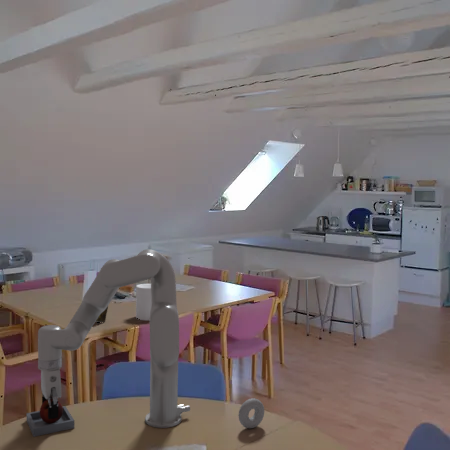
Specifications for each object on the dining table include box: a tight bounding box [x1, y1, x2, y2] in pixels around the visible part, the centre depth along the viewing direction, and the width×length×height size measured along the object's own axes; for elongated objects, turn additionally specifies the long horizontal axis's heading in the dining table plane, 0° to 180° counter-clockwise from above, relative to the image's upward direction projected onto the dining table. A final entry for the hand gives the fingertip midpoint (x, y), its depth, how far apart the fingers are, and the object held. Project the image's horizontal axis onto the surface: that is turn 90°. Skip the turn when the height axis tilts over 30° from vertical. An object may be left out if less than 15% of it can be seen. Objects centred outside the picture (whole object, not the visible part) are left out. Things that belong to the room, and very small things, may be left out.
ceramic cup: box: [95, 305, 109, 323], centre depth 306 cm, size 13×10×10 cm
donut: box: [238, 397, 266, 429], centre depth 173 cm, size 10×4×10 cm, turn 122°
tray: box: [26, 405, 75, 438], centre depth 173 cm, size 13×13×3 cm
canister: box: [135, 283, 151, 321], centre depth 321 cm, size 16×16×20 cm
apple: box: [39, 400, 63, 423], centre depth 173 cm, size 7×8×8 cm
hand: (50, 412), depth 172 cm, fingers open, 9 cm apart
